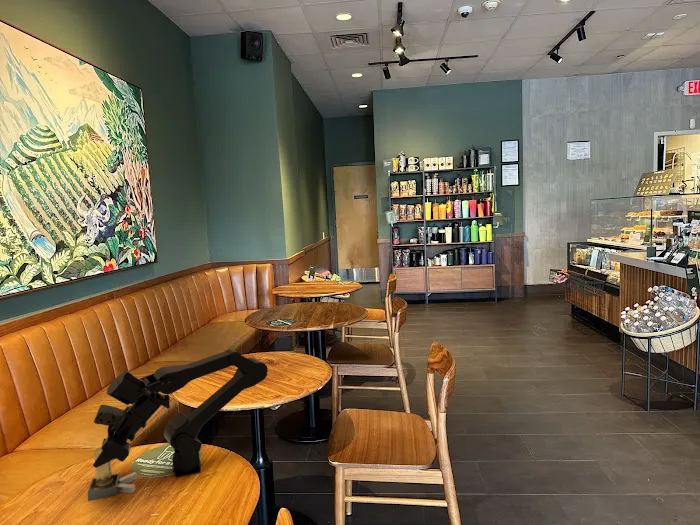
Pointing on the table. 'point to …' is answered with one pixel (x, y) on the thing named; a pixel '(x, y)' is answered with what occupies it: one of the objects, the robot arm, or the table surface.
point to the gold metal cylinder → (103, 473)
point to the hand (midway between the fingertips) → (96, 461)
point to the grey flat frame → (113, 487)
